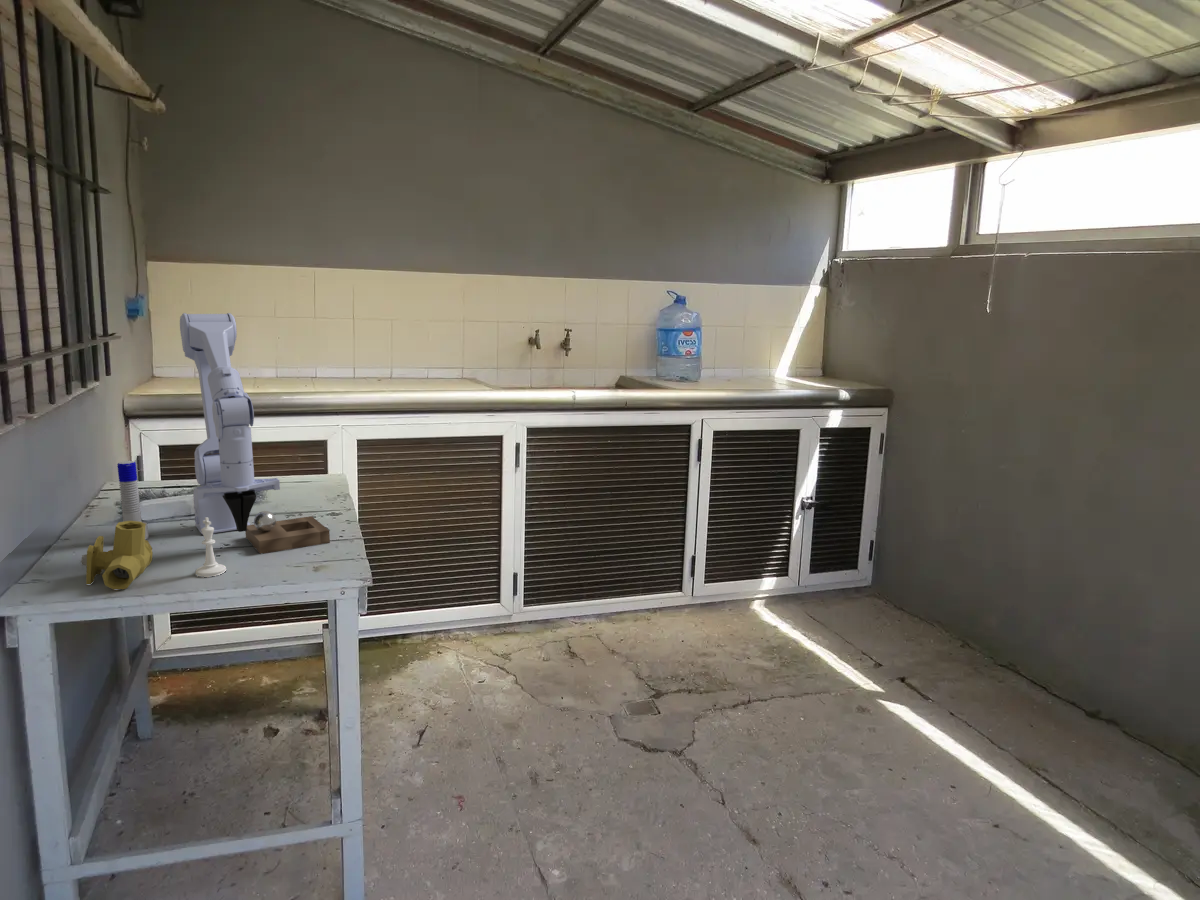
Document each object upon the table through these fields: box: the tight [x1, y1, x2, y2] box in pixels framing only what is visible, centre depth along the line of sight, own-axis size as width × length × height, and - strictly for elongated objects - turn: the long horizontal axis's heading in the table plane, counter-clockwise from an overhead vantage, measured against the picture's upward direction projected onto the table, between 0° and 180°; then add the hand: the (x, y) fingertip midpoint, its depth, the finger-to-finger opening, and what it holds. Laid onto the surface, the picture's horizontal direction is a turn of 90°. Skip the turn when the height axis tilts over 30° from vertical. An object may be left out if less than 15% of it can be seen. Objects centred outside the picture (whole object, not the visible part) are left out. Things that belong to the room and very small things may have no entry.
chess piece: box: [195, 517, 227, 578], centre depth 141 cm, size 5×5×10 cm
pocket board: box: [244, 515, 331, 555], centre depth 161 cm, size 13×12×2 cm
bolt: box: [117, 460, 149, 540], centre depth 158 cm, size 16×5×5 cm
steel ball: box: [253, 510, 277, 532], centre depth 158 cm, size 4×4×4 cm
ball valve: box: [80, 521, 153, 591], centre depth 138 cm, size 13×10×10 cm
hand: (241, 530), depth 155 cm, fingers closed
